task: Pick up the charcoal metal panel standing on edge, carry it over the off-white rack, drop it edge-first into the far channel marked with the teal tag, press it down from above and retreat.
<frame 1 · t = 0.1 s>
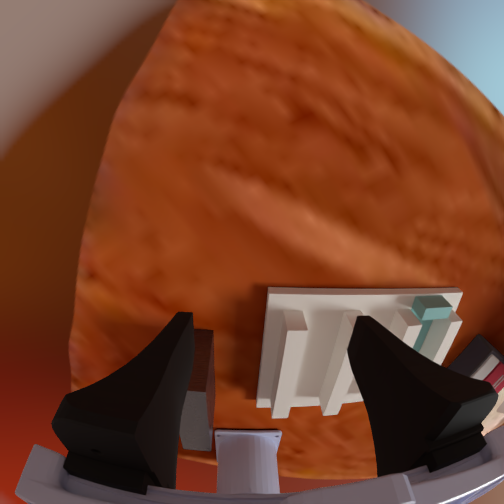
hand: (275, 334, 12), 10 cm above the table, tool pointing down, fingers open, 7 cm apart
rack: (359, 351, 26), on the table
panel: (201, 365, 26), on the table
calculator: (468, 374, 31), on the table
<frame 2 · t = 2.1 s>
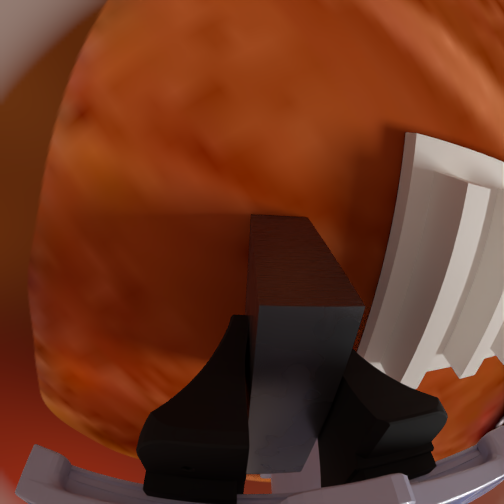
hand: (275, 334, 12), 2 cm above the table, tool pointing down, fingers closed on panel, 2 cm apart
rack: (494, 273, 15), on the table
panel: (271, 303, 15), on the table, touching gripper
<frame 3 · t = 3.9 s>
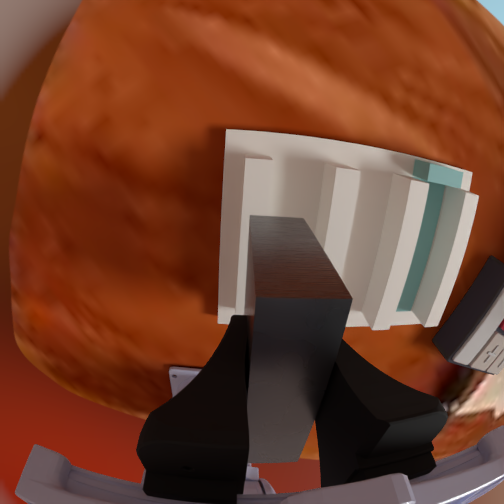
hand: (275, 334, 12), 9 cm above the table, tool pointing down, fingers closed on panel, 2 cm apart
rack: (352, 241, 21), on the table
panel: (268, 300, 15), point 6 cm above the table, touching gripper
calculator: (487, 316, 26), on the table
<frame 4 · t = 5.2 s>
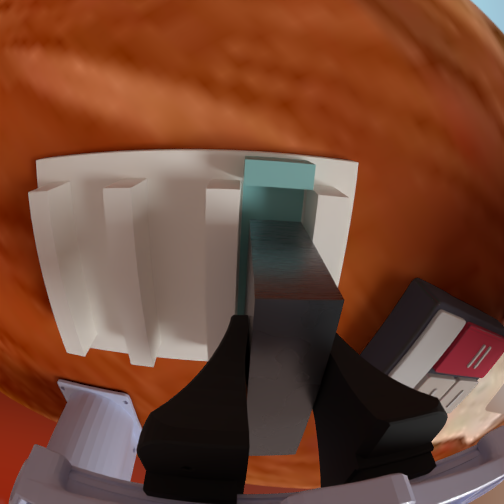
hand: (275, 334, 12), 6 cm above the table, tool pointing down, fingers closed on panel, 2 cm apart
rack: (183, 265, 18), on the table
panel: (268, 299, 16), point 3 cm above the table, touching gripper
calculator: (429, 347, 23), on the table
when the fingers open (5 cm above the table, at t = 5.8 s): panel stays where it is, resting on rack.
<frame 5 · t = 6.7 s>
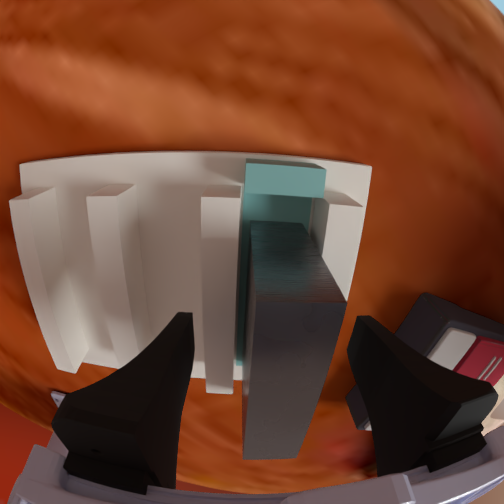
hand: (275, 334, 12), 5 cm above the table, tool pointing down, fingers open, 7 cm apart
rack: (178, 278, 16), on the table
panel: (268, 302, 16), point 1 cm above the table, touching rack
calculator: (438, 359, 21), on the table
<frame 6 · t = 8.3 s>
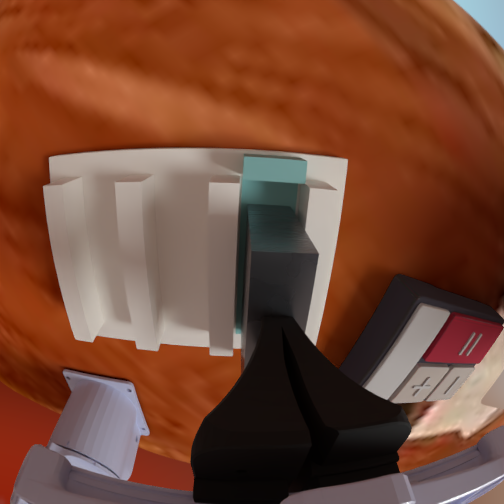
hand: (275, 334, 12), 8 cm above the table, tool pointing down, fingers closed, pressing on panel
rack: (187, 255, 20), on the table
panel: (263, 274, 19), point 1 cm above the table, touching gripper, rack
calculator: (421, 337, 24), on the table
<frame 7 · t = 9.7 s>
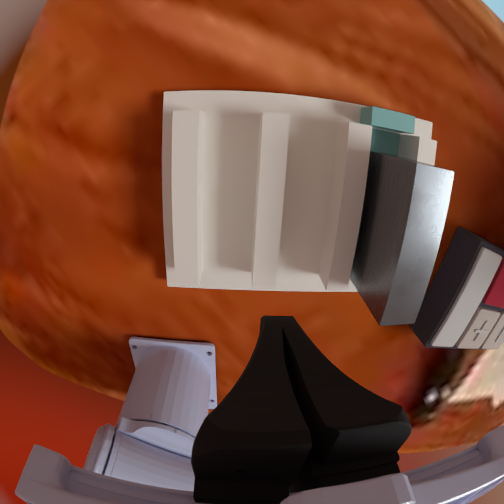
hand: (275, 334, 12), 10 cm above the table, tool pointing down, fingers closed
rack: (301, 196, 21), on the table
panel: (370, 214, 20), point 1 cm above the table, touching rack
calculator: (474, 289, 25), on the table
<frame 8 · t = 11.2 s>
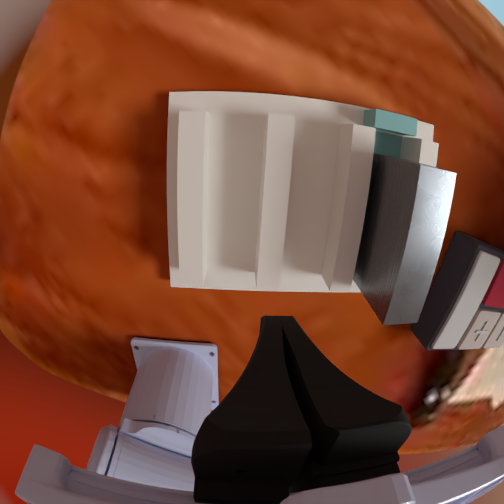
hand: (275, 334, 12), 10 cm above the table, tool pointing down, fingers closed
rack: (304, 197, 21), on the table
panel: (372, 215, 20), point 1 cm above the table, touching rack
calculator: (474, 290, 26), on the table
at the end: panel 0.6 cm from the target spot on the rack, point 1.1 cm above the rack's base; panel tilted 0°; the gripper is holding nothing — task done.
